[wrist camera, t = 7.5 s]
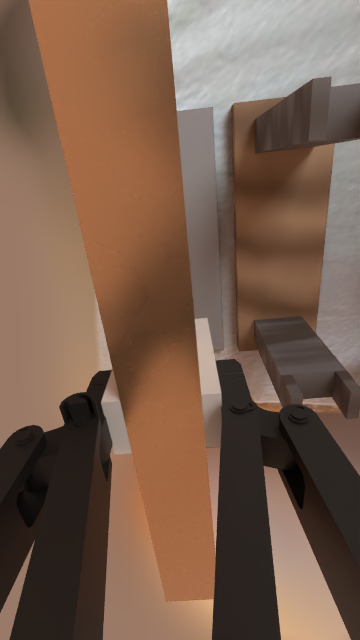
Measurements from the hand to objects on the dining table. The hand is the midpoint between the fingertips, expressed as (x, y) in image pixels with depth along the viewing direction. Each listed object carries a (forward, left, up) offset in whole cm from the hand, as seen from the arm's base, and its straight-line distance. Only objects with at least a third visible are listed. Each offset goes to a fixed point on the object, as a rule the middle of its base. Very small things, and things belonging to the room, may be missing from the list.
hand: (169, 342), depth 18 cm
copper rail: (0, 0, +2) cm, 2 cm away
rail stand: (0, +12, -22) cm, 25 cm away
